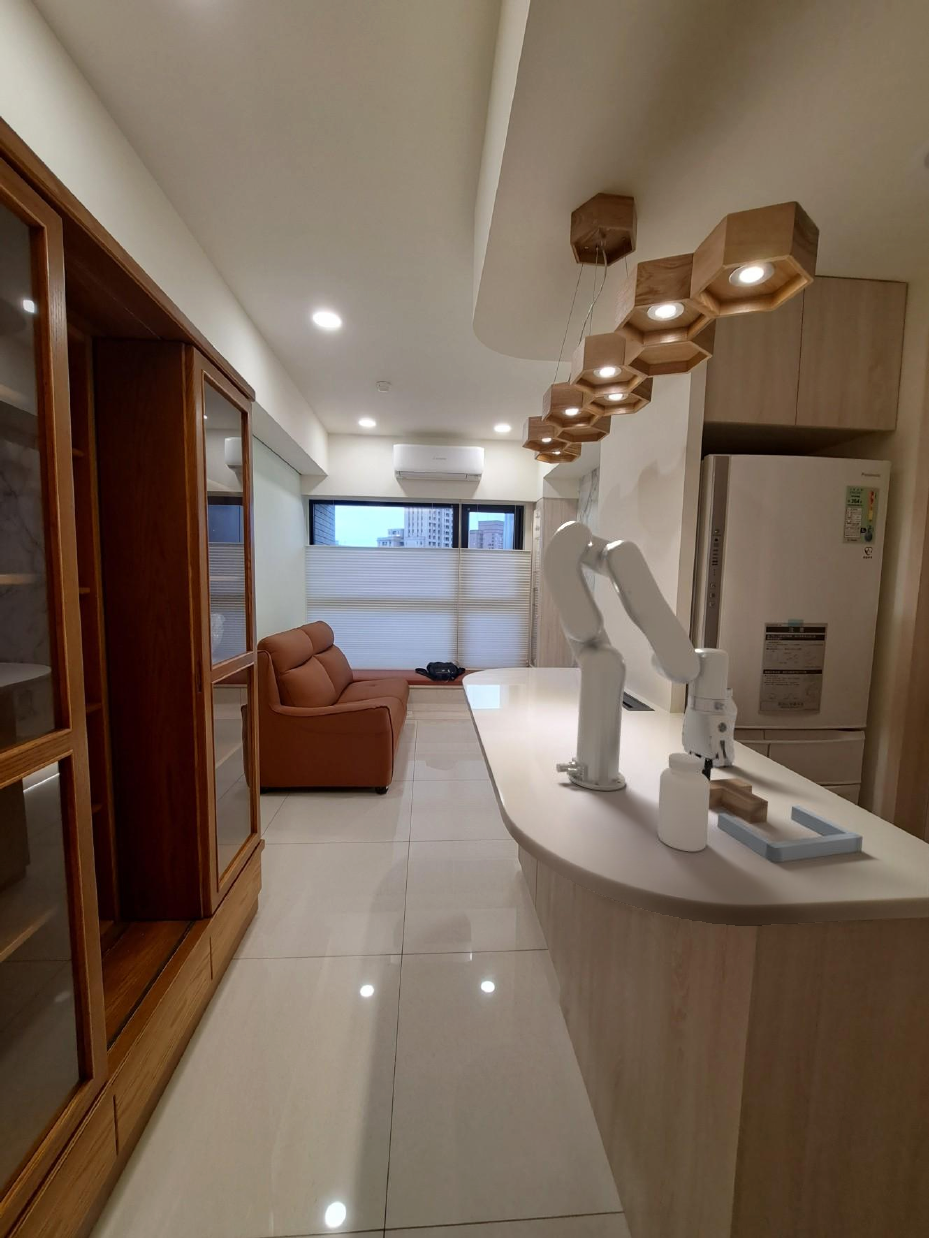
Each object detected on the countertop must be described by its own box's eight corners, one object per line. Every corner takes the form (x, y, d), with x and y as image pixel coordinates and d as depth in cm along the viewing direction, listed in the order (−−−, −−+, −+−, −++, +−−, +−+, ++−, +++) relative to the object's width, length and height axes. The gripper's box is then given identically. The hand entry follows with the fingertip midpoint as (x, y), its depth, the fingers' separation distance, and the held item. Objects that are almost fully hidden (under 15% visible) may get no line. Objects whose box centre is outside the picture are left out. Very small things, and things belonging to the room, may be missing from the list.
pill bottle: (649, 828, 87) (654, 748, 86) (693, 830, 87) (699, 750, 86) (666, 851, 79) (672, 764, 78) (715, 854, 79) (721, 767, 78)
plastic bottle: (738, 770, 118) (743, 691, 117) (709, 767, 120) (714, 689, 119) (729, 761, 125) (734, 686, 124) (701, 758, 126) (706, 684, 125)
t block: (734, 824, 90) (736, 804, 89) (693, 799, 100) (694, 781, 100) (780, 819, 92) (782, 800, 92) (735, 795, 103) (736, 778, 103)
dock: (773, 862, 77) (774, 848, 77) (717, 826, 89) (718, 813, 88) (861, 850, 82) (862, 836, 82) (797, 817, 93) (798, 805, 93)
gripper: (748, 712, 98) (742, 797, 99) (695, 696, 113) (691, 770, 114) (718, 713, 96) (713, 800, 97) (669, 696, 111) (664, 773, 112)
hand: (701, 784), depth 106 cm, fingers closed
